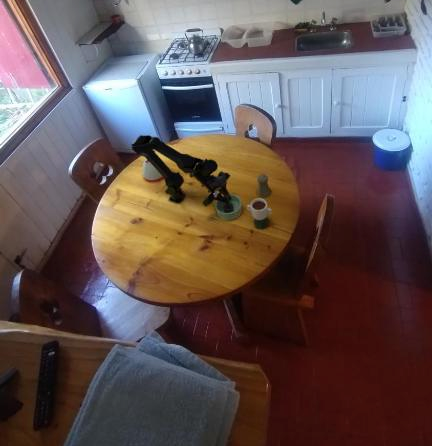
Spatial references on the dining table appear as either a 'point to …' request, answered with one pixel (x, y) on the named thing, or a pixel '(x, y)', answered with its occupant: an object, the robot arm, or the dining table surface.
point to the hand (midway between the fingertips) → (229, 201)
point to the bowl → (233, 215)
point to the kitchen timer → (151, 172)
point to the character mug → (259, 212)
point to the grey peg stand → (228, 205)
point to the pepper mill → (263, 185)
